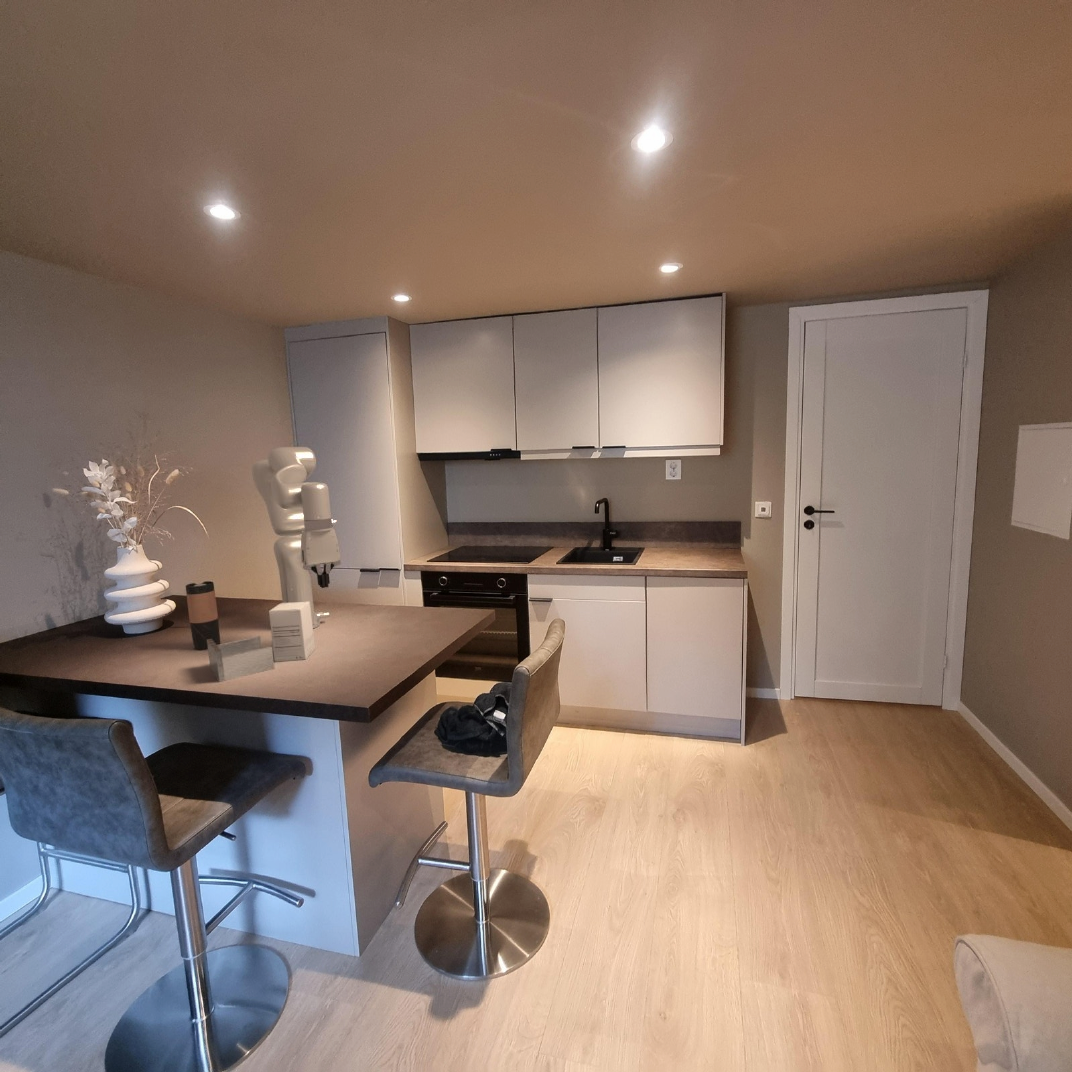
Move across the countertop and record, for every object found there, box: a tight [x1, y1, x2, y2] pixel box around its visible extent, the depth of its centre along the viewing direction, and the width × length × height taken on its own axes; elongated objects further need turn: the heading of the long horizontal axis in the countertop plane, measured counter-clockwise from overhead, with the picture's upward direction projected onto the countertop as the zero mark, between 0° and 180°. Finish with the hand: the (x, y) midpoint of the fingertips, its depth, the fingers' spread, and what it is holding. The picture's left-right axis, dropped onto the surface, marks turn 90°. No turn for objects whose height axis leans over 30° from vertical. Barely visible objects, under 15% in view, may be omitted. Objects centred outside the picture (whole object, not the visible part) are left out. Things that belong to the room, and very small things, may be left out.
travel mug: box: [185, 581, 221, 651], centre depth 175 cm, size 8×8×20 cm
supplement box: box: [268, 601, 316, 663], centre depth 163 cm, size 9×9×15 cm
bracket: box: [207, 635, 275, 683], centre depth 155 cm, size 13×14×8 cm
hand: (324, 586), depth 167 cm, fingers closed
